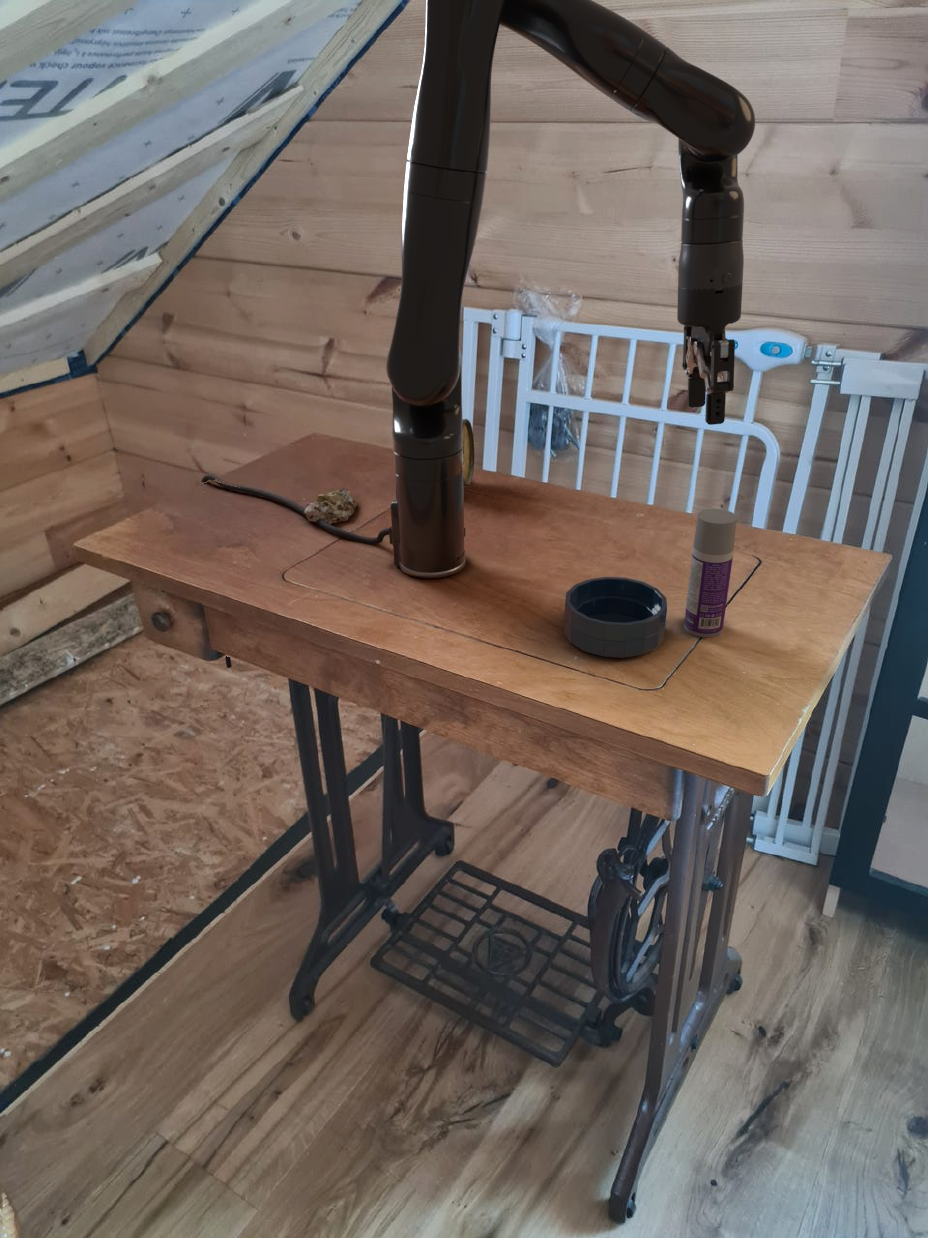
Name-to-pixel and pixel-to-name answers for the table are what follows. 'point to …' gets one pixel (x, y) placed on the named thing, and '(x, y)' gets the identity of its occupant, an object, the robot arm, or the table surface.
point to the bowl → (615, 617)
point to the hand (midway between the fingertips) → (705, 414)
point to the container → (710, 572)
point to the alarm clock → (467, 451)
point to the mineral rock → (331, 507)
